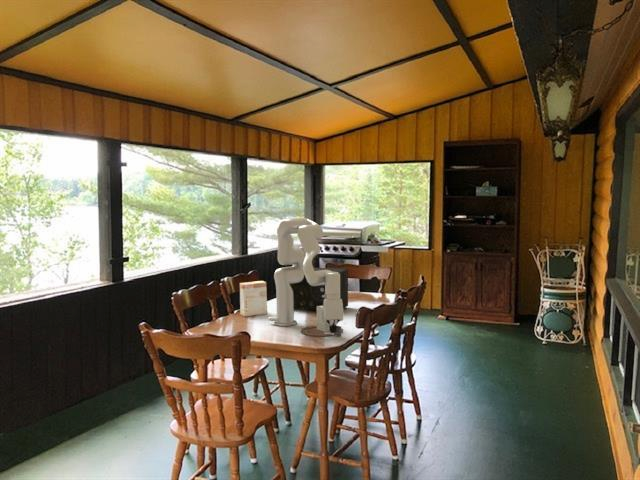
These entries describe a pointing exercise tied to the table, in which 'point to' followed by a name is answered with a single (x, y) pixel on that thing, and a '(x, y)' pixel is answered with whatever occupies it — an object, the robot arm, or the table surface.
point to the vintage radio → (318, 291)
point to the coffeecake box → (253, 298)
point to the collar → (337, 333)
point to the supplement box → (320, 324)
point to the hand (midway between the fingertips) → (332, 332)
